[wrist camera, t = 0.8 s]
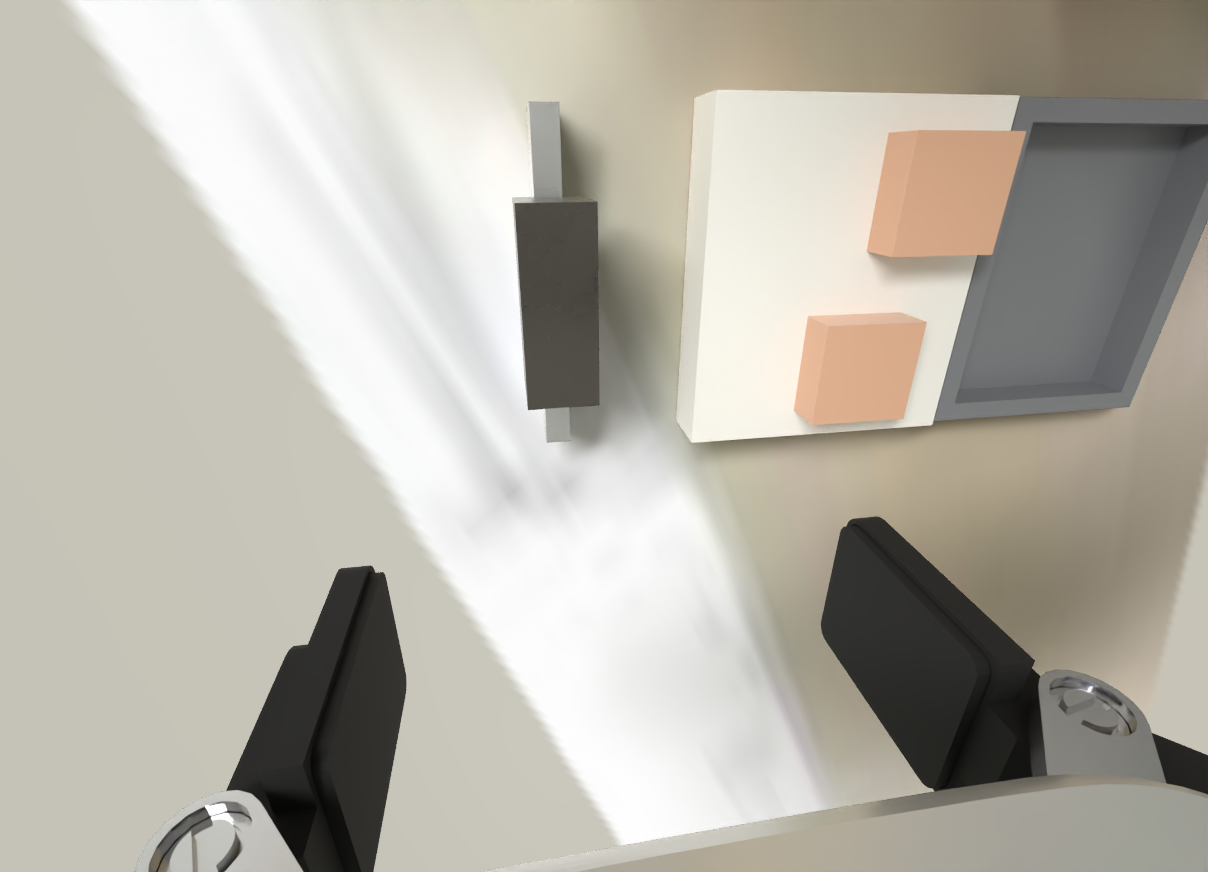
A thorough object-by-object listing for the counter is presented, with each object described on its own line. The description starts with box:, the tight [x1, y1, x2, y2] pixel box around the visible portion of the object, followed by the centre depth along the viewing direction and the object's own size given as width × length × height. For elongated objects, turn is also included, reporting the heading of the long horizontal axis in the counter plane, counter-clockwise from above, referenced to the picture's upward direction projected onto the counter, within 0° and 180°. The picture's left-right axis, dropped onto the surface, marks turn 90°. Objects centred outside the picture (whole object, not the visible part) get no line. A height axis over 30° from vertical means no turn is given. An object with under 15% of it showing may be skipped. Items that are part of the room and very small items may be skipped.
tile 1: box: [794, 312, 927, 425], centre depth 29 cm, size 5×5×2 cm
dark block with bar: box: [513, 102, 599, 443], centre depth 25 cm, size 15×3×7 cm, turn 0°
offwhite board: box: [676, 90, 1020, 443], centre depth 29 cm, size 16×14×3 cm
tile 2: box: [867, 130, 1026, 257], centre depth 26 cm, size 5×5×2 cm
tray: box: [933, 97, 1208, 421], centre depth 31 cm, size 16×13×2 cm
